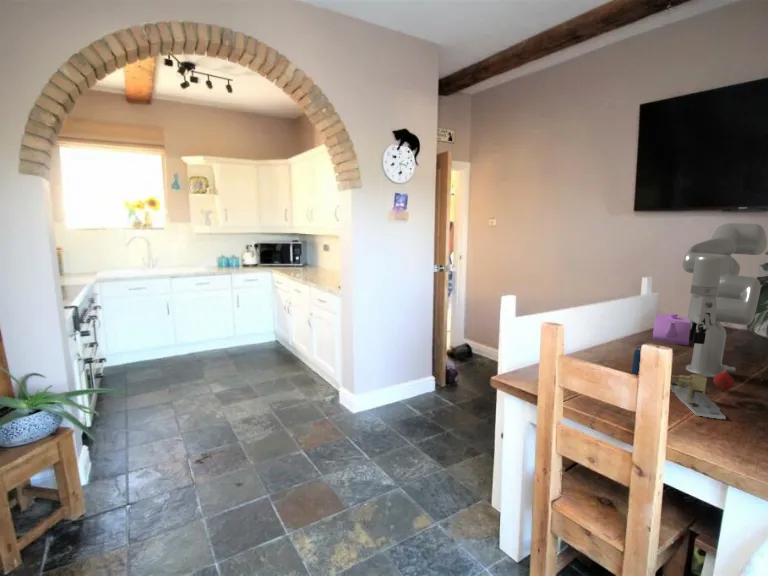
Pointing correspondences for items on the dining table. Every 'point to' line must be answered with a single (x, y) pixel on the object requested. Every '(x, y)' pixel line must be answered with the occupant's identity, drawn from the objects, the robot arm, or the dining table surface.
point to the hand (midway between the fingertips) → (696, 341)
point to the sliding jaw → (695, 383)
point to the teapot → (671, 329)
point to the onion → (723, 380)
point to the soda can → (636, 361)
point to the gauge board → (695, 400)
